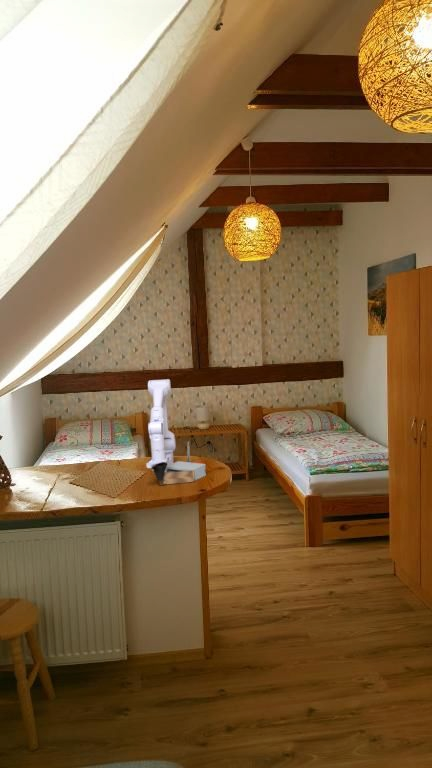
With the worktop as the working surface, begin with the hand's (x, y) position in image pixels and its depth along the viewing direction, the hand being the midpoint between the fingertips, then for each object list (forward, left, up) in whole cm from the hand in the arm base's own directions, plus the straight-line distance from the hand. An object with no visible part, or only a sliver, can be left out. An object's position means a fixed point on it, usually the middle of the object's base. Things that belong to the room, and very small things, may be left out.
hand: (160, 480), depth 242 cm
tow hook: (-3, +32, -3) cm, 32 cm away
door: (+4, +6, -3) cm, 8 cm away
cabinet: (+2, +17, -3) cm, 17 cm away
